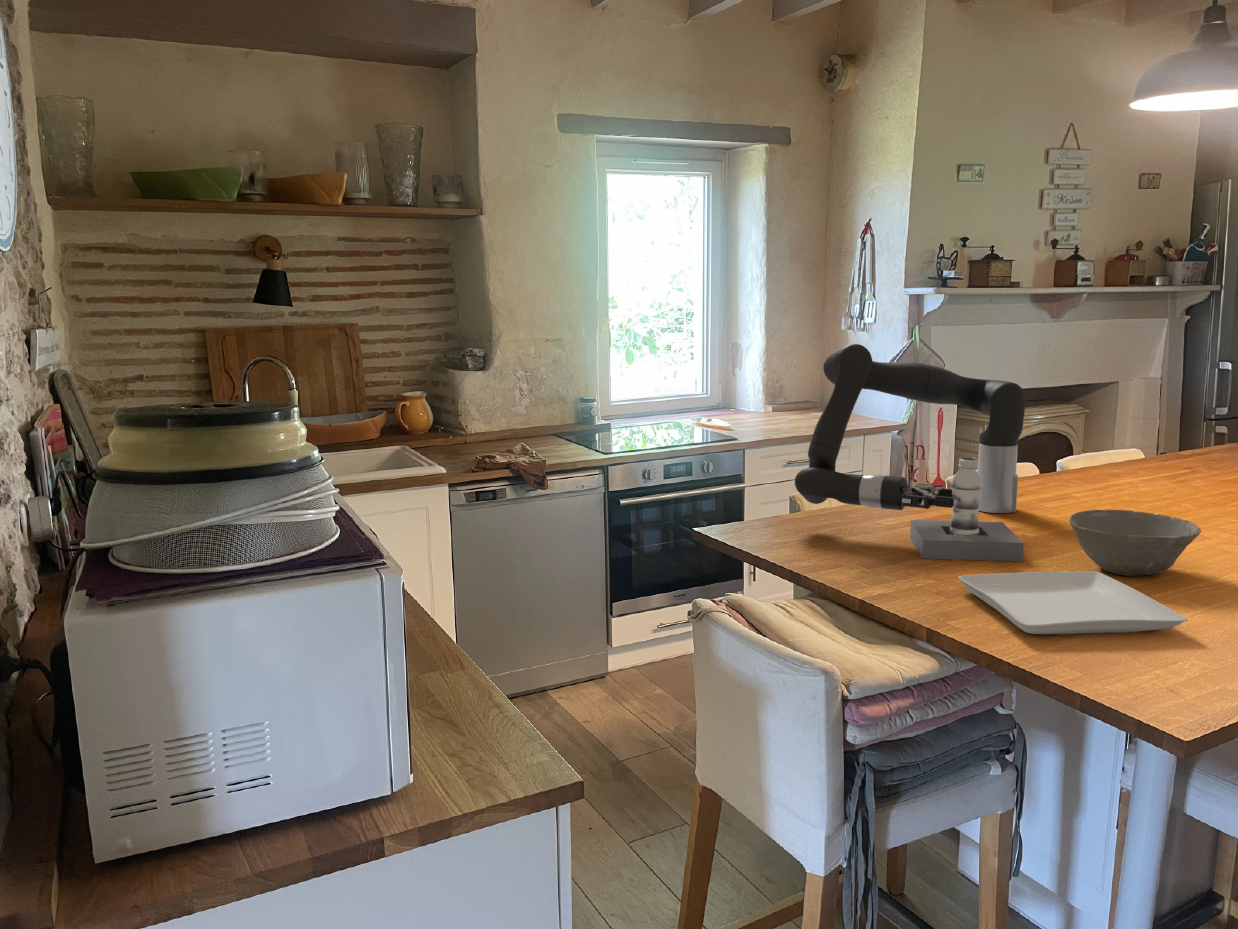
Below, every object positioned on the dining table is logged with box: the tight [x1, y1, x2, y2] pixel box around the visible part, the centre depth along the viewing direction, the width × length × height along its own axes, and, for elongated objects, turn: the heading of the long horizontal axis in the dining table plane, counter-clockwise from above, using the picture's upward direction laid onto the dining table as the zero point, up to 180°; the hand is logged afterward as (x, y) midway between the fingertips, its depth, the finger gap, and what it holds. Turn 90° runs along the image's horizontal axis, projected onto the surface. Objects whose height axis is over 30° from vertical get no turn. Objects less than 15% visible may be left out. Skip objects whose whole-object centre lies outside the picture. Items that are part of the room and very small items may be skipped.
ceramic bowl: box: [1068, 509, 1202, 577], centre depth 180 cm, size 22×23×10 cm
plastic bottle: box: [948, 456, 983, 536], centre depth 197 cm, size 6×7×20 cm
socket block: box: [909, 519, 1025, 562], centre depth 198 cm, size 20×18×4 cm
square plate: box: [957, 570, 1188, 635], centre depth 158 cm, size 27×27×4 cm
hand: (957, 498), depth 198 cm, fingers open, 8 cm apart
